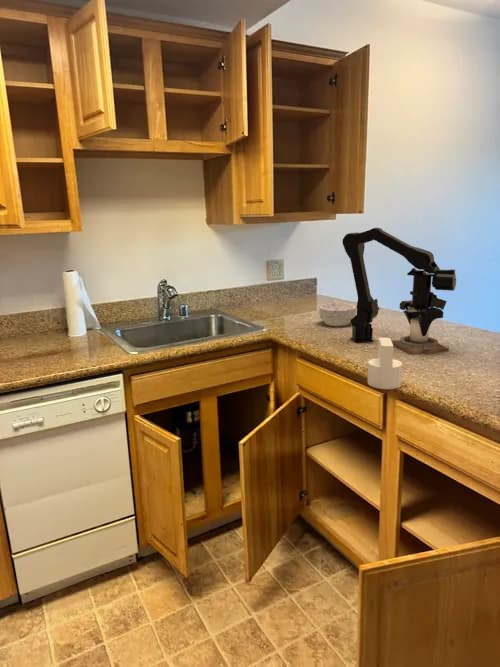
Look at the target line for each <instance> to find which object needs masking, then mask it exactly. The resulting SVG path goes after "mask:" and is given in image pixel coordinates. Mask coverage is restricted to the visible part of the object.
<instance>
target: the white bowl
mask: <svg viewBox="0 0 500 667" xmlns="http://www.w3.org/2000/svg"><path fill="white" fill-rule="evenodd" d="M318 309H319V318H320V319H321V320H323V321H324V324H325V325H327V326H330V327H345V326H348V325H350V324H351V321H350V320H351V319H353V318H354V317H355V316H356V315H357V305H356V306H355V305H354V304H351V303H345V302H331V303H323V304H320V306H319V308H318Z"/></svg>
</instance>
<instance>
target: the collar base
mask: <svg viewBox="0 0 500 667" xmlns="http://www.w3.org/2000/svg"><path fill="white" fill-rule="evenodd" d="M391 342H392V344H393V347H396V348H397V349H399V350H400V351H403V352H404V353H406V354H408V355H419V354H421V355H422V354H432V353H445V352H449V349H450V348H449V347H446V346H444V345H442V344H441V343H439V340H438V339H437V338H434V337H430V336H428V341H425V342H417V341H412V340H410V335H406V336H403V337H400V338H399V339H398V340H391Z"/></svg>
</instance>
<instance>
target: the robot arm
mask: <svg viewBox="0 0 500 667" xmlns="http://www.w3.org/2000/svg"><path fill="white" fill-rule="evenodd" d="M372 241H375V242H377V243H378V244H381V245H382V246H385V247H386V248H388V249H389V250H391V251H393V252H395V253H396V254H399V255H401V257H403V258H404V259H405V260H406V261H407V262H408V263H409V264H410V265H412V267H413V268H411V269H410V270H409V271H408V272H407V273H406V275H407V276H413V278H412V279H413V280H412V291H409V295H412V296H411V297H412V298H411V299H410V300H402V301H401V302H400V303H399V310H402V311H403V313H404V315H405V318H406V320H407V321H408V323H409V325H410V324H411V319H412V318H418V321H419V325H420V330H421V334H422V336H426V334H427V331H428V329H429V330H430V327H431V324H432V323H433V321H435V320H437V319H443V318H444V309H445V306H446V304H447V302H448V301H447V300H444V299H441V298H439V297H438V295H437V294H435V293H434V292H433V291H431V289H432V288H434V289H435V290H436V291H450V292H451V291H453V292H454V291H455V289H456V285H457V278H456V277H457V276H456V269H440V267H439V266H438V264H437V263H436V261H435V256H434V254H433V252H431V251H429V250H426V249H423V248H419V247H416V246H412V245H410V244H408V243H407V242H405V241H403V240H402V239H399V238H398V237H396V236H394V235H392V234H390V233H388V232H386V231H385V230H383V229H382V228H381V227H373V228H371V229H369V230H365V231H362V232H351V233H346V235H344V237H343V238H342V246H343V248H344V251H345V253H346V254H347V256H348V258H349V261H350V264H351V270H352V274H353V278H354V284H355V289H356V294H357V295H356V296H357V303H356V316H355V317H354V318H353V319H351V320H350V321H351V322H350V324H351V336H350V337H349V340H352V341H353V342H355V343H357V344H359V343H372V342H374V340H373V330H374V328H373V327H372V326H373V325H372V323H373V321H374V319H376V318H377V316H379V315H378V314H379V311H380V307H379V304H378V302H379V301H378V298H375V299H374V298H373V296H372V294H371V291H370V285H369V280H368V275H367V274H368V273H367V269H366V264H365V259H364V253H365V244H367V243H369V242H372ZM419 315H421V317H419Z"/></svg>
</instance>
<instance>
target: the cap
mask: <svg viewBox="0 0 500 667" xmlns="http://www.w3.org/2000/svg"><path fill="white" fill-rule="evenodd" d="M409 325H410V327H409V328H410V329H409V336H410V340H412V341H417V342H425V341H428V337H429V330H430V328H429V329H428V331H427V334H426V336H422V334H421V330H420V325H419V321H418V318H412V319H411V324H409Z"/></svg>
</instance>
